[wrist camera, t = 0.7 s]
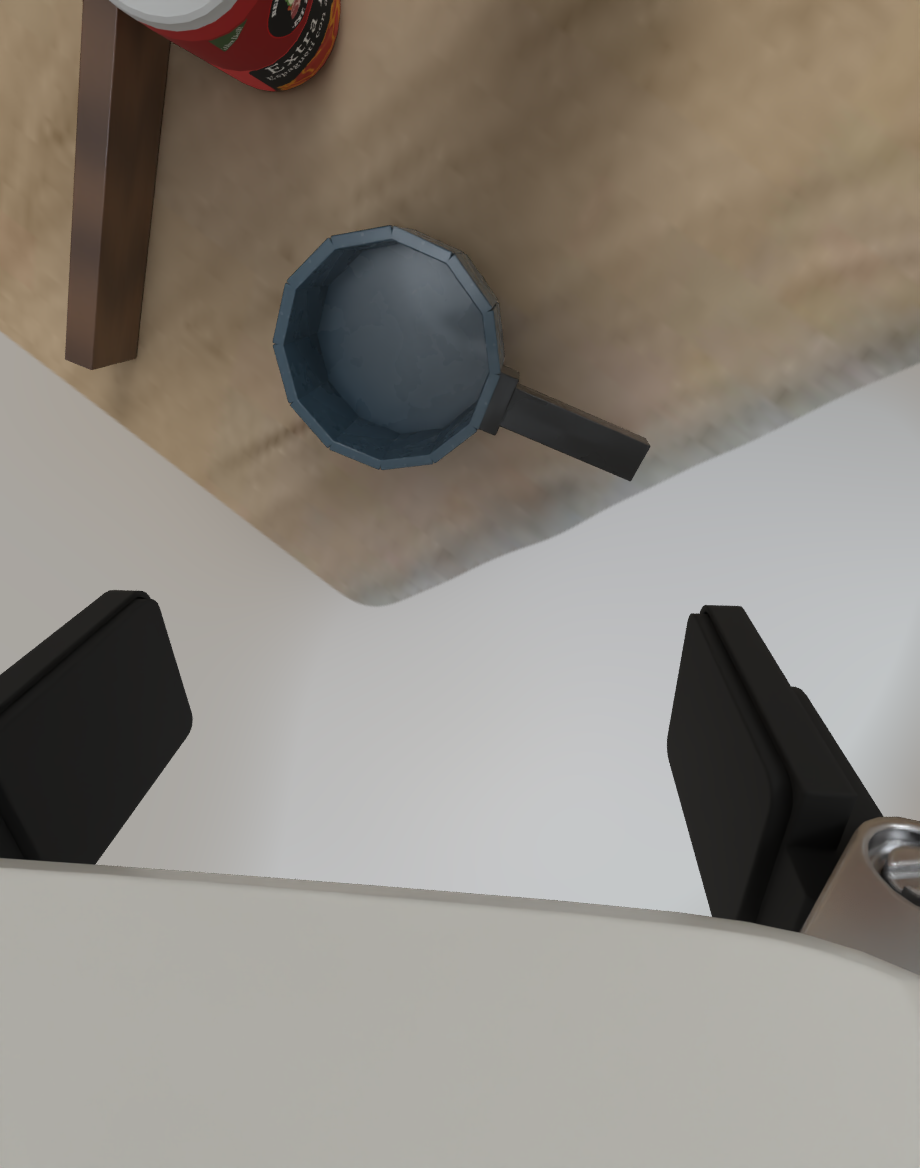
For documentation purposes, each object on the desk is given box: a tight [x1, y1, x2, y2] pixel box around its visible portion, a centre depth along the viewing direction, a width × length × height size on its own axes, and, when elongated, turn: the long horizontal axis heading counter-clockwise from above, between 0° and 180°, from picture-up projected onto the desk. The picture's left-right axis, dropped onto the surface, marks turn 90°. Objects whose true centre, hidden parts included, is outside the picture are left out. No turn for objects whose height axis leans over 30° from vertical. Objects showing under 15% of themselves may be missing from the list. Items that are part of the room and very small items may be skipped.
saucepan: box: [273, 225, 650, 481], centre depth 34 cm, size 12×21×6 cm, turn 68°
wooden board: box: [65, 0, 170, 370], centre depth 31 cm, size 24×2×4 cm, turn 158°
